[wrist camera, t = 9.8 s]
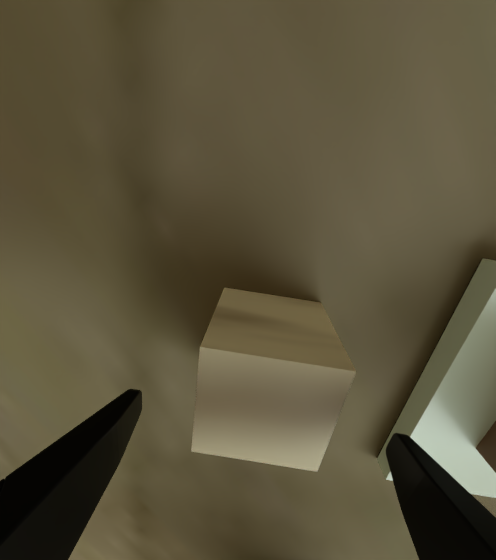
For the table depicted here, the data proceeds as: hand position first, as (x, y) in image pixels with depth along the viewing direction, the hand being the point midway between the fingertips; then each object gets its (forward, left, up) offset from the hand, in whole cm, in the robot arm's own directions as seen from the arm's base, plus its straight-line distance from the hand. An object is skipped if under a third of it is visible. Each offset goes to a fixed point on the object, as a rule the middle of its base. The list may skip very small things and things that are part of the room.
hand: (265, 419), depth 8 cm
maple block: (0, 0, -5) cm, 5 cm away
